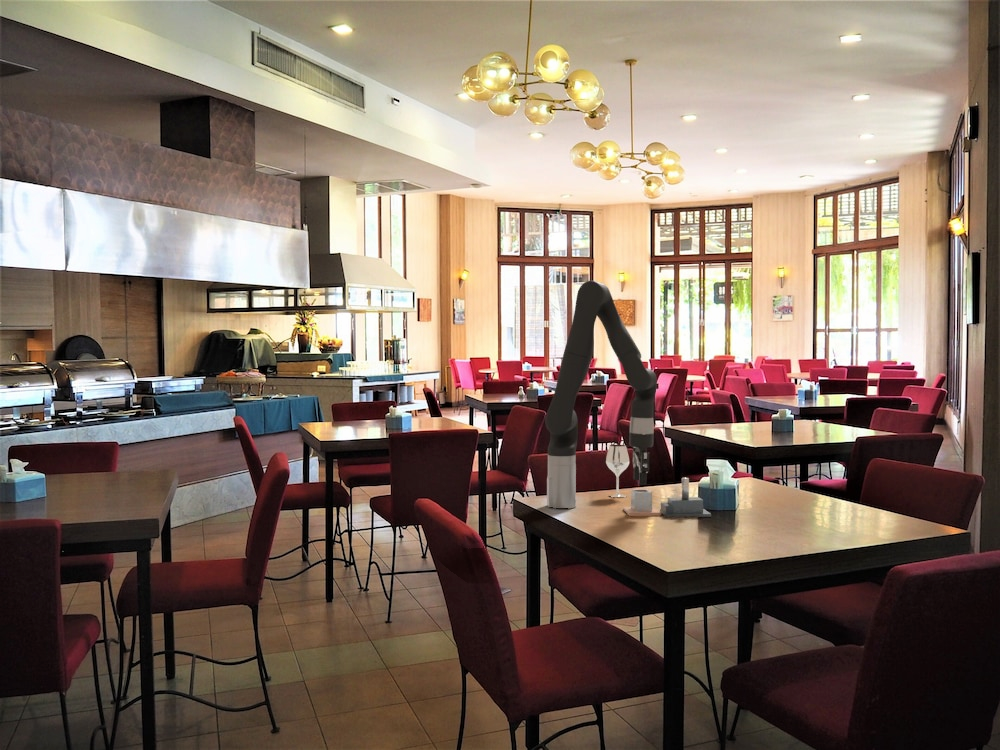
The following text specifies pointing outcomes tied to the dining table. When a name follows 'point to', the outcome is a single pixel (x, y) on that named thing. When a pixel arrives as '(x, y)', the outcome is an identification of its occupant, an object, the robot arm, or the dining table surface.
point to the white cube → (641, 500)
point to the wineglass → (617, 462)
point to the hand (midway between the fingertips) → (640, 482)
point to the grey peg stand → (684, 505)
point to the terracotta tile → (642, 512)
